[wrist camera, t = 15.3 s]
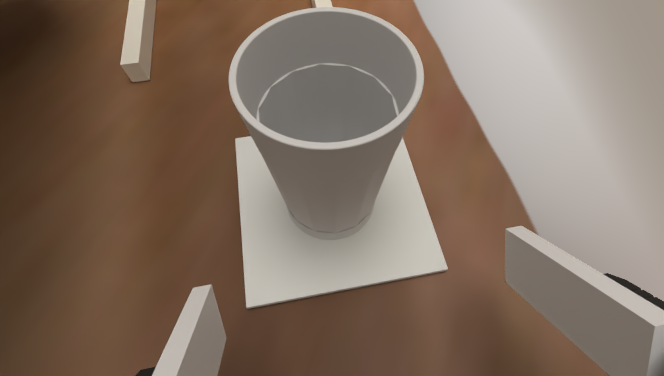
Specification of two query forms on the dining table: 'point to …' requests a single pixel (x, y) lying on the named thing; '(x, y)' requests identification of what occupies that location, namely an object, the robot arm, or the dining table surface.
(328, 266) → the mat
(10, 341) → the dining table surface
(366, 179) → the cup
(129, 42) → the dispenser bay
